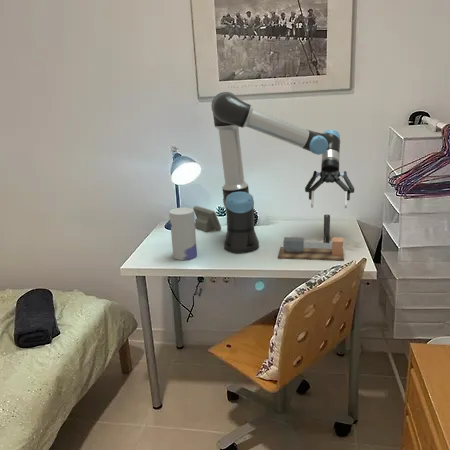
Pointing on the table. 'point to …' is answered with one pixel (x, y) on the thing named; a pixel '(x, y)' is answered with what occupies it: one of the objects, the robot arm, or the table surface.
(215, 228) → the digital clock
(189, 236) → the container
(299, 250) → the outer sleeve
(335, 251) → the socket block
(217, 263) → the table surface
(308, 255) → the base board
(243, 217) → the robot arm
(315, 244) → the sliding bolt
